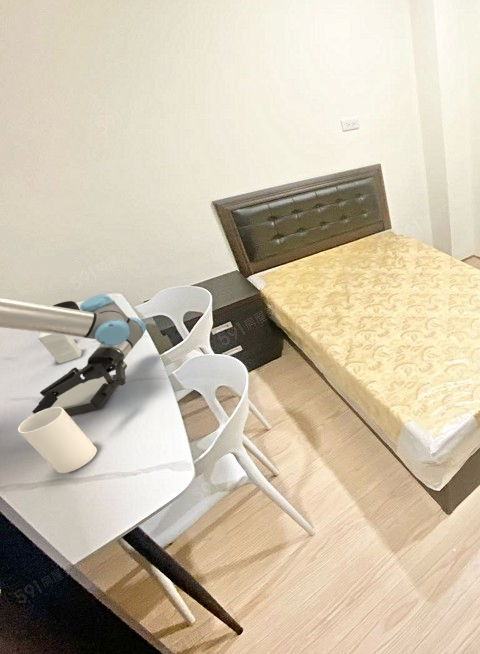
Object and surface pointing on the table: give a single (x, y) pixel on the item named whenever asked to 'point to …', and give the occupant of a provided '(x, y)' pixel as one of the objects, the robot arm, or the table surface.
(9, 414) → the table surface
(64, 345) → the cosmetic box
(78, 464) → the cup
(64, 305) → the pen holder
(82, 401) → the scale
